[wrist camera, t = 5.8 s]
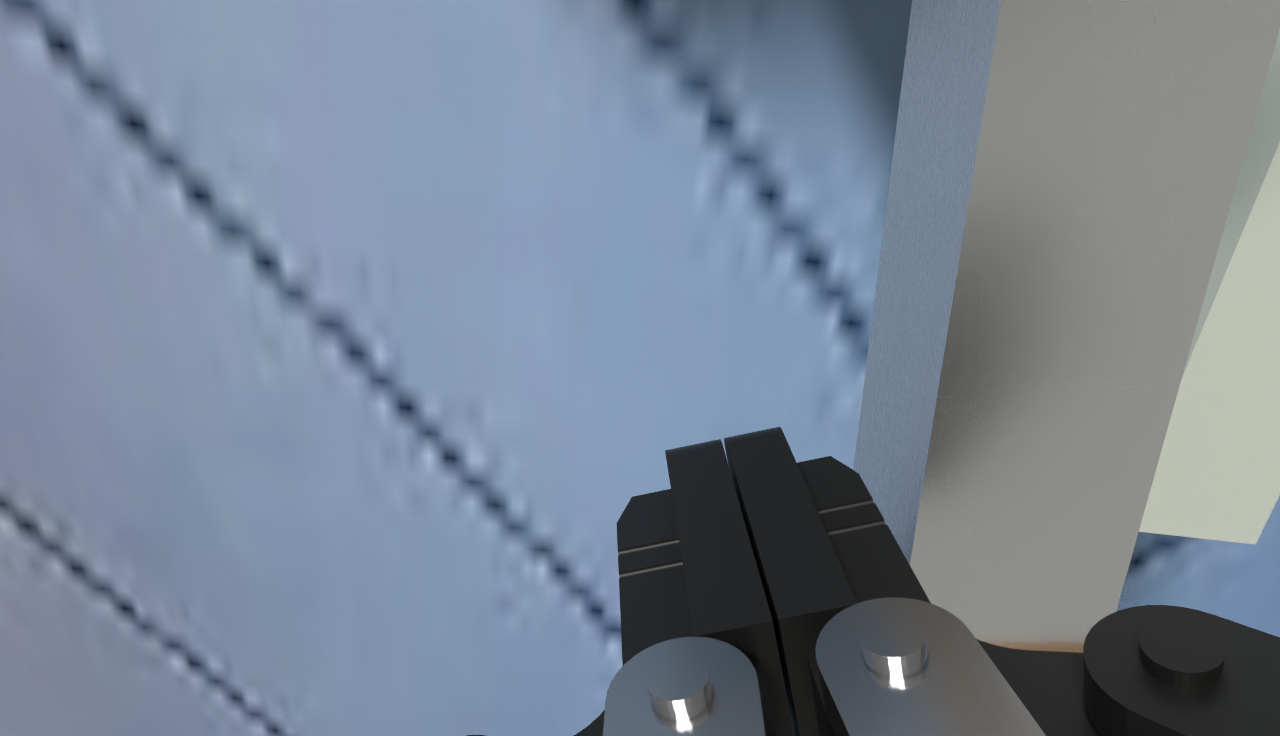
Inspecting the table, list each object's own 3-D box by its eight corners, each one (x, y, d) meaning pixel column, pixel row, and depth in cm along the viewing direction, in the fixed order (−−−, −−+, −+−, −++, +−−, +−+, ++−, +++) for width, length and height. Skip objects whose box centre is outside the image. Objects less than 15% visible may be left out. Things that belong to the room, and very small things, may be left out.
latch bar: (983, -869, 7) (1451, -1983, 3) (1332, -856, 7) (2228, -1927, 3) (814, 614, 14) (901, 893, 9) (1006, 614, 14) (1179, 891, 9)
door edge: (1163, -416, 17) (1669, -797, 9) (1283, -393, 17) (1886, -744, 9) (942, 339, 23) (1119, 529, 15) (1032, 350, 24) (1255, 544, 15)
